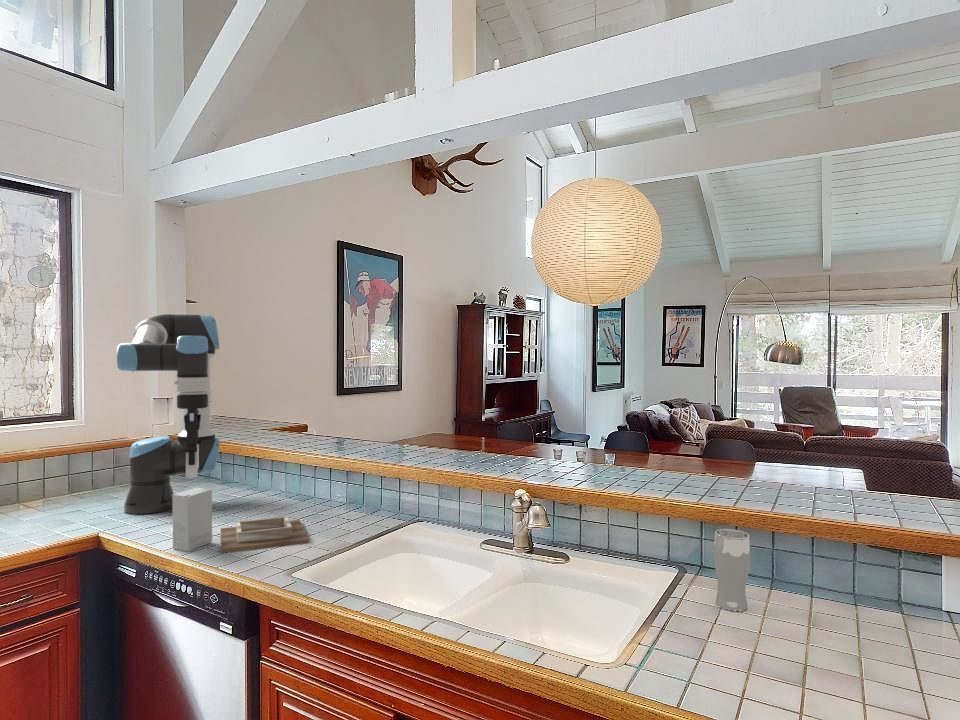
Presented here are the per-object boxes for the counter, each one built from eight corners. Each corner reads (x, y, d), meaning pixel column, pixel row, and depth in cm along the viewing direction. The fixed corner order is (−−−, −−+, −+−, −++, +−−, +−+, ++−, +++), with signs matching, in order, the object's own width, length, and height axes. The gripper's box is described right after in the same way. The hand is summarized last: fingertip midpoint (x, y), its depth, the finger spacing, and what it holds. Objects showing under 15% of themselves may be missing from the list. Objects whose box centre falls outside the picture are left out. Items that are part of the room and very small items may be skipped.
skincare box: (196, 540, 164) (196, 486, 164) (213, 542, 162) (213, 488, 161) (171, 549, 156) (170, 493, 156) (188, 552, 154) (188, 495, 154)
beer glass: (707, 599, 126) (708, 528, 126) (738, 598, 126) (739, 528, 126) (723, 613, 119) (724, 539, 119) (756, 612, 119) (757, 538, 119)
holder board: (220, 531, 172) (220, 519, 172) (299, 523, 181) (299, 511, 181) (221, 552, 153) (221, 539, 153) (308, 542, 163) (308, 529, 162)
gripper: (179, 391, 168) (179, 466, 168) (173, 396, 145) (173, 482, 145) (208, 390, 171) (208, 464, 171) (207, 395, 149) (207, 480, 149)
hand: (192, 472), depth 158 cm, fingers open, 13 cm apart
